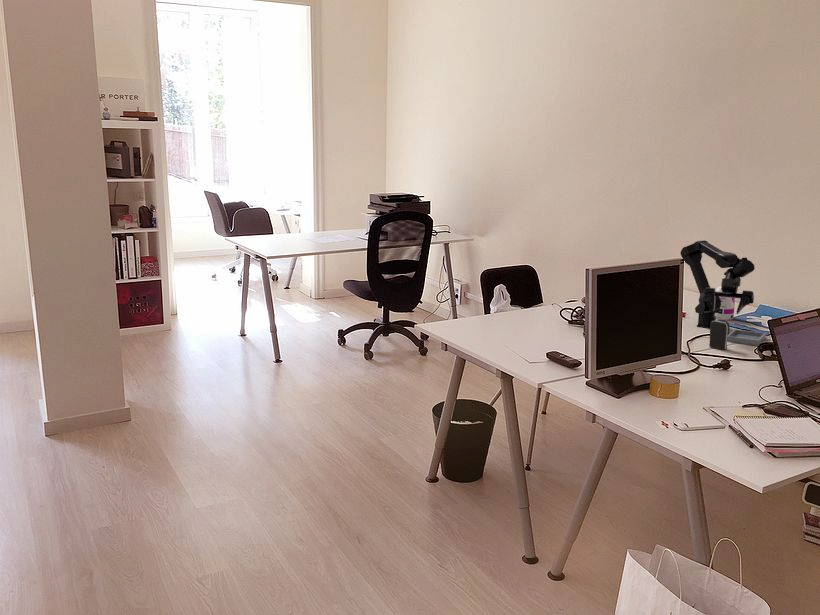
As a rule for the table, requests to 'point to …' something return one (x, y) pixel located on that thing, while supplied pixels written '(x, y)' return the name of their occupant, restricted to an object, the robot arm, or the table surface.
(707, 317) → the robot arm
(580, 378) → the table surface
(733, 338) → the tray
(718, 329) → the battery
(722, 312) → the supplement can
